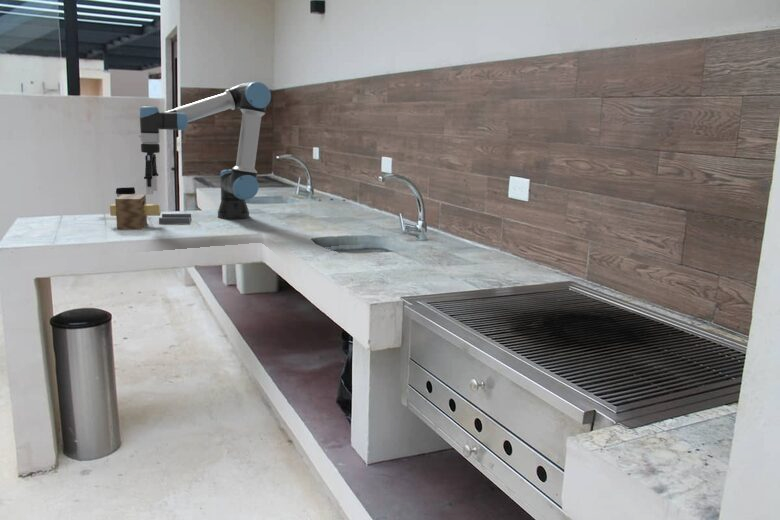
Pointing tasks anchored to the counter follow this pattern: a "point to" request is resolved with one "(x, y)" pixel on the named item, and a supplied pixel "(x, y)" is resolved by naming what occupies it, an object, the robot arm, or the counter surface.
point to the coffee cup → (125, 191)
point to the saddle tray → (175, 219)
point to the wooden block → (130, 211)
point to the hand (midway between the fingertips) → (151, 192)
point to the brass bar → (147, 210)
